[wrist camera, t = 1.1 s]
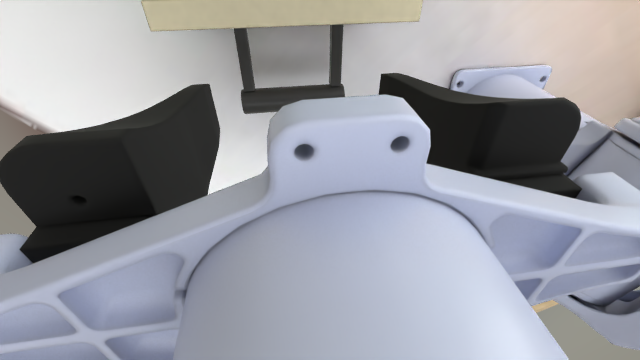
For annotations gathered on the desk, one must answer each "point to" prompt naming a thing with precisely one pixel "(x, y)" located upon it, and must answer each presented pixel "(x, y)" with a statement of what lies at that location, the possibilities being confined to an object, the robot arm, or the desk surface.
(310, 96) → the drawer
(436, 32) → the desk surface
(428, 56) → the desk surface
